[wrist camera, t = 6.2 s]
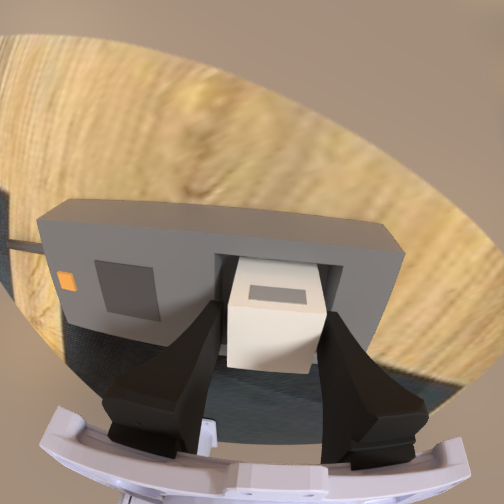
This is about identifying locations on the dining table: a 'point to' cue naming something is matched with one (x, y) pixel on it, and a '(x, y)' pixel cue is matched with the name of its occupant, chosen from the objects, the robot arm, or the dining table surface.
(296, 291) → the plug
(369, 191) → the dining table surface
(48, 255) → the power strip
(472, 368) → the dining table surface
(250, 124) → the dining table surface
